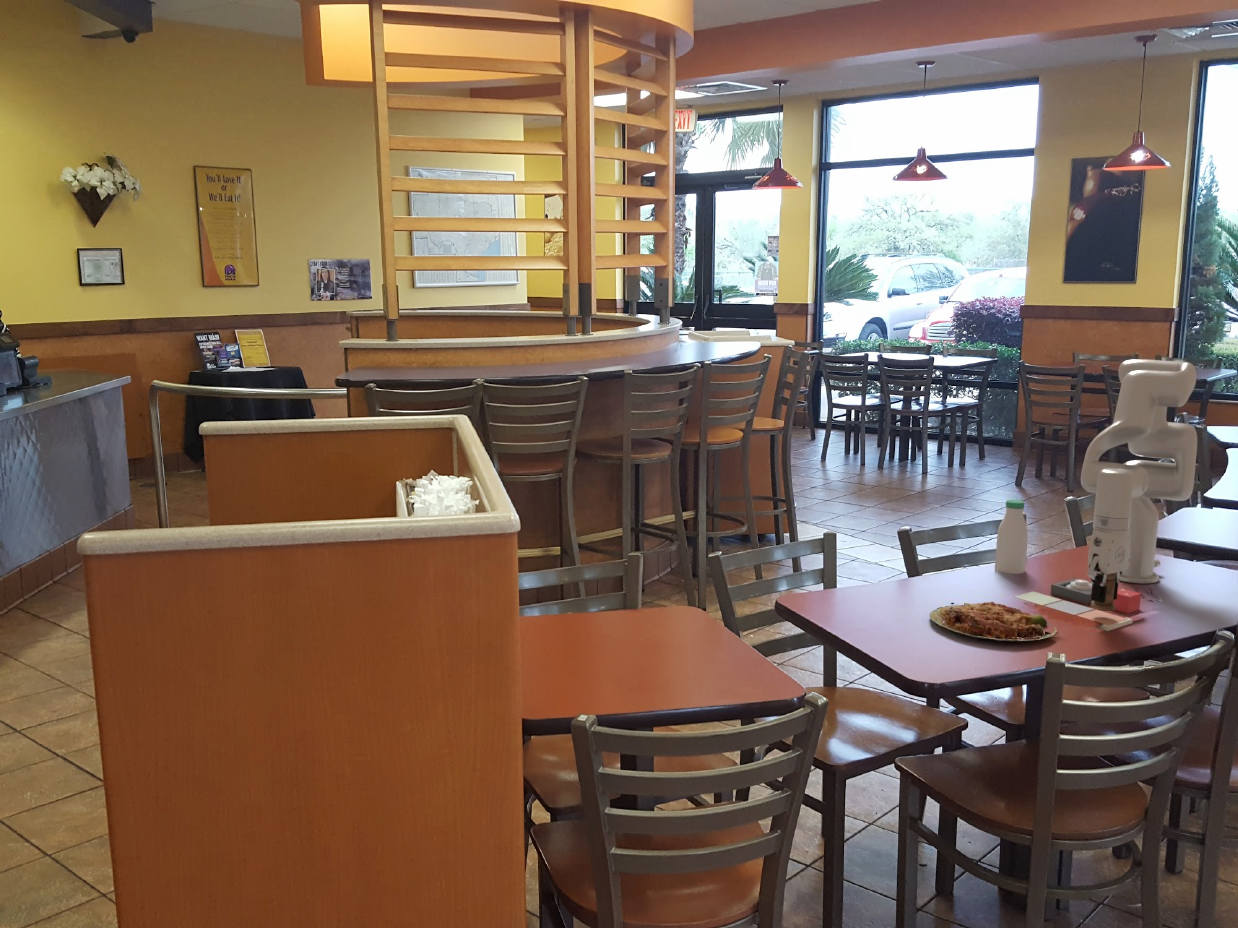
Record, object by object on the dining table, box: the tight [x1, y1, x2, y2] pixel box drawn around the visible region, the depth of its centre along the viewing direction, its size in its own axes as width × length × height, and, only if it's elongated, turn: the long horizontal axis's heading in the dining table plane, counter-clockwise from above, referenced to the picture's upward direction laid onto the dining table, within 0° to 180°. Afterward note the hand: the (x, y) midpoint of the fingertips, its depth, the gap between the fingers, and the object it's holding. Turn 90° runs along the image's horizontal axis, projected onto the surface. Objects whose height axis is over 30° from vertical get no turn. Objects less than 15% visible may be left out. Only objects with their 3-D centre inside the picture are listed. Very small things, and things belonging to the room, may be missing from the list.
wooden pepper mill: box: [1090, 569, 1117, 612], centre depth 245 cm, size 5×5×11 cm
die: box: [1113, 587, 1142, 618], centre depth 253 cm, size 5×5×5 cm
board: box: [1013, 591, 1134, 632], centre depth 254 cm, size 10×26×1 cm, turn 34°
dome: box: [1066, 579, 1092, 593], centre depth 263 cm, size 7×7×3 cm
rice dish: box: [929, 601, 1058, 642], centre depth 242 cm, size 28×28×5 cm
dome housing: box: [1050, 577, 1093, 605], centre depth 263 cm, size 10×10×4 cm
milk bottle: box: [994, 499, 1029, 575], centre depth 284 cm, size 8×8×20 cm
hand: (1103, 598), depth 246 cm, fingers closed on wooden pepper mill, 4 cm apart
